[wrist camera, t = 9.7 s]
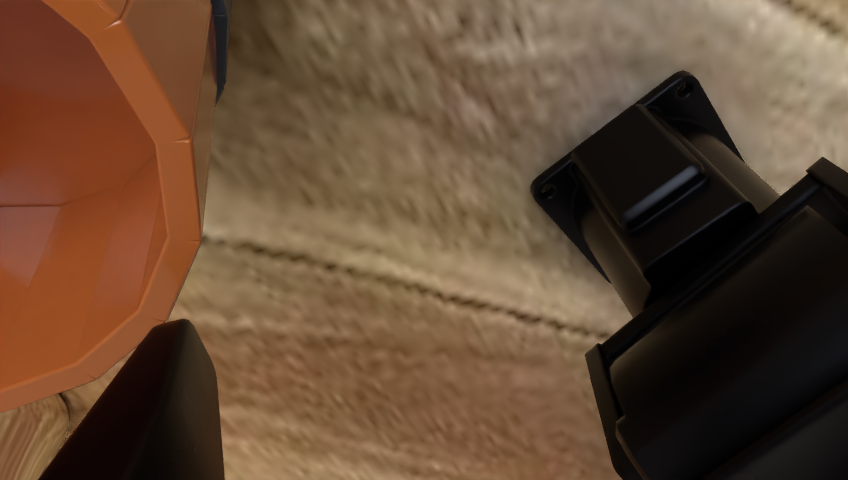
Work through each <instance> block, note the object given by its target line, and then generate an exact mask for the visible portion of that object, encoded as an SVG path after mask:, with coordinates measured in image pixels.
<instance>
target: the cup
mask: <svg viewBox="0 0 848 480" xmlns="http://www.w3.org/2000/svg"><path fill="white" fill-rule="evenodd" d="M216 93H217V69H216V30H215V23H214V16H213V8H212V5H211V1H210V0H0V412H1V413H4V412H7V411H10V410H13V409H16V408H18V407H21V406H24V405H27V404H30V403H33V402H35V401H38V400H41V399H44V398H47V397H50V396H53V395H55V394H58V393H61V392H64V391H67V390H70V389H72V388H75V387H78V386H81V385H84V384H87V383H90V382H92V381H94V380H95V379H98V378H100V377H101V376H102V375H103V374H104V373H106V372H107V371H108V370H109V369H110V368H112V367H113V366H114V365H115V364H116V363H118V362H119V361H120V360H121V359H123V358H124V357H125V356H126V355H127V354H129V353H130V352H131V351H132V350H133V349H135V348H136V347H137V346H138V345H139V344H140V343H141V342H142V340H143V339H144V338H145V336H146V335H147V334H148V332H149V331H150V330H151V329H152V328H153V327H154V326H156V325H159V324H163V323H165V321H167V319H168V318H169V316H170V314H171V312H172V309H173V307H174V305H175V302H176V300H177V298H178V296H179V293H180V291H181V289H182V286H183V284H184V282H185V279H186V277H187V275H188V273H189V270H190V268H191V266H192V263H193V261H194V259H195V257H196V254H197V252H198V250H199V247H200V245H201V242H202V235H203V225H204V214H205V204H206V194H207V184H208V174H209V164H210V154H211V143H212V133H213V123H214V113H215V103H216Z"/></svg>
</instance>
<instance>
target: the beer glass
mask: <svg viewBox="0 0 848 480" xmlns="http://www.w3.org/2000/svg"><path fill="white" fill-rule="evenodd" d="M68 427H69V413H68V409H67V406H66V404H65V402H64V400H63V399H62V397H61V396H60V394H59V393H58V394H55V395H53V396H50V397H47V398H44V399H41V400H38V401H35V402H33V403H30V404H27V405H24V406H21V407H18V408H16V409H13V410H10V411H7V412H4V413H1V412H0V480H38V478H39V477H40V476H41V474H42V473H43V472H44V470H45V469H46V468H47V466H48V465H49V464H50V462H51V461H52V460H53V458H54V457H55V456H56V454H57V453H58V452H59V450H60V448H61V446H62V443H63V441H64V439H65V437H66V434H67V431H68Z"/></svg>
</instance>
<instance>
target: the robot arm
mask: <svg viewBox="0 0 848 480" xmlns="http://www.w3.org/2000/svg"><path fill="white" fill-rule="evenodd" d="M685 83H686V86H685V88H684V89H683V90H682V91H680V92H677V91H678V88H679V87H680V86H681V85H683V84H685ZM806 172H807V173H808V174H807V175H806V176H804V177H803V178H802V179H801V180H800V181H798V182H797V183H796V184H795V185H793V186H792V187H791V188H790V189H789V190H787V191H786V192H785V193H784V194H783V195H781V196H780V195H779V194H778V193H777V192H776V191H775V190H773V189H772V188H771V187H770V186H769V185H768V184H767V183H766V182H765V181H764V180H763V179H761V178H760V177H759V176H758V175H757V174H756V173H755V172H754V171H753V170H752V169H751V168H749V167H748V166H747V165H746V164H745V162H744V161H743V159H742V157H741V155H740V154H739V152H738V150H737V148H736V147H735V145H734V143H733V141H732V139H731V138H730V136H729V134H728V132H727V131H726V129H725V127H724V125H723V124H722V122H721V120H720V118H719V117H718V115H717V113H716V111H715V109H714V108H713V106H712V104H711V102H710V101H709V99H708V97H707V95H706V94H705V92H704V90H703V88H702V87H701V85H700V83H699V81H698V80H697V79H696V78H695V77H694V76H693V75H691V74H690V73H689V72H686V71H680V72H677V73H675V74H673V75H672V76H671V77H669V78H668V79H667V80H665V81H664V82H663V83H661V84H660V85H659V86H657V87H656V88H655V89H653V90H652V91H651V92H649V93H648V94H647V95H645V96H644V97H643V98H641V99H640V100H639V101H637V102H636V103H635V104H633V105H632V106H630V107H629V108H628V109H626V110H625V111H624V112H622V113H621V114H620V115H618V116H617V117H616V118H614V119H613V120H612V121H611V122H609V123H608V124H607V125H605V126H604V127H603V128H601V129H600V130H599V131H597V132H596V133H595V134H593V135H592V136H591V137H589V138H588V139H587V140H585V141H584V142H583V143H581V144H580V145H579V146H577V147H576V148H575V149H574V150H572V151H571V152H570V153H568V154H567V155H566V156H564V157H563V158H562V159H560V160H559V161H558V162H556V163H555V164H554V165H553V166H551V167H550V168H549V169H547V170H546V171H545V172H543V173H542V174H541V175H539V176H538V177H537V178H536V179H535V180H534V181H533V182H532V184H531V186H530V191H531V193H532V195H533V197H534V199H535V200H536V202H537V203H538V204H539V205H540V206H541V207H542V208H543V210H544V211H545V212H546V213H547V214H548V215H549V216H550V217H551V218H552V220H553V221H554V222H555V223H556V224H557V225H558V226H559V227H560V229H561V230H562V231H563V232H564V233H565V234H566V235H567V236H568V237H569V239H570V240H571V241H572V242H573V243H574V244H575V245H576V246H577V248H578V249H579V250H580V251H581V252H582V253H583V254H584V255H585V256H586V258H587V259H588V260H589V261H590V262H591V263H592V264H593V265H594V267H595V268H596V269H597V270H598V271H599V272H600V273H601V274H602V275H603V277H604V278H605V279H606V280H607V281H608V282H609V283H611V284H612V285H613V286H614V288H615V290H616V291H617V293H618V294H619V296H620V298H621V299H622V301H623V302H624V304H625V306H626V307H627V309H628V310H629V312H630V314H631V315H632V317H633V319H632V320H630V321H629V322H628V323H627V324H626V325H624V326H623V327H622V328H621V329H619V330H618V331H617V332H616V333H615V334H613V335H612V336H611V337H610V338H609V339H607V340H606V341H605V342H604V343H603V344H599V343H598V344H596V345H595V346H594V347H593V348H592V349H590V350H589V351H588V352H587V353H586V354H585V357H586V361H587V365H588V369H589V373H590V379H591V383H592V387H593V391H594V394H595V398H596V402H597V406H598V410H599V414H600V418H601V422H602V425H603V429H604V433H605V437H606V441H607V445H608V449H609V453H610V456H611V460H612V464H613V467H614V469H615V470H616V472H617V473H618V475H619V476H620V477H621V478H622V479H623V480H848V173H847V172H846V171H844V170H842V169H841V168H839V167H838V166H836V165H835V164H833V163H832V162H830V161H829V160H827V159H825V158H824V157H822V158H820V159H819V160H818V161H817V162H816V163H814V164H813V165H812V166H811V167H810V168H808V169H807V170H806ZM547 186H550V188H549V189H548V191H546V192H541V190H542V189H543V188H545V187H547ZM38 480H225V478H224V464H223V451H222V438H221V426H220V413H219V400H218V388H217V377H216V372H215V368H214V365H213V363H212V360H211V358H210V356H209V354H208V352H207V350H206V349H205V347H204V345H203V343H202V341H201V339H200V337H199V335H198V333H197V331H196V329H195V327H194V325H193V324H192V323H191V322H190V321H189V320H187V319H179V320H175V321H171V322H167V323H163V324H159V325H156V326H154V327H153V328H152V329H151V330H150V331H149V332H148V334H147V335H146V336H145V338H144V339H143V340H142V342H141V343H140V344H139V346H138V347H137V348H136V350H135V351H134V352H133V354H132V355H131V356H130V358H129V359H128V360H127V362H126V363H125V364H124V366H123V367H122V368H121V370H120V371H119V372H118V374H117V375H116V376H115V378H114V379H113V380H112V382H111V383H110V384H109V385H108V387H107V388H106V389H105V391H104V392H103V393H102V395H101V396H100V397H99V399H98V400H97V401H96V403H95V404H94V405H93V407H92V408H91V409H90V411H89V412H88V413H87V415H86V416H85V417H84V419H83V420H82V421H81V423H80V424H79V425H78V427H77V428H76V429H75V431H74V432H73V433H72V435H71V436H70V437H69V439H68V440H67V441H66V443H65V444H64V445H63V447H62V448H61V449H60V451H59V452H58V453H57V454H56V456H55V457H54V458H53V460H52V461H51V462H50V464H49V465H48V466H47V468H46V469H45V470H44V472H43V473H42V474H41V476H40V477H39V478H38Z"/></svg>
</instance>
